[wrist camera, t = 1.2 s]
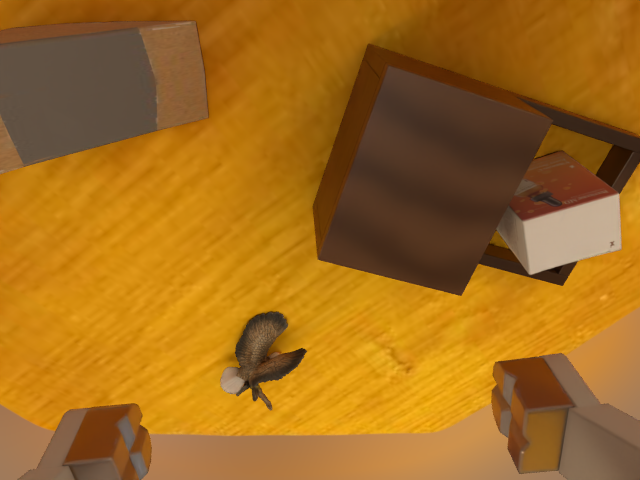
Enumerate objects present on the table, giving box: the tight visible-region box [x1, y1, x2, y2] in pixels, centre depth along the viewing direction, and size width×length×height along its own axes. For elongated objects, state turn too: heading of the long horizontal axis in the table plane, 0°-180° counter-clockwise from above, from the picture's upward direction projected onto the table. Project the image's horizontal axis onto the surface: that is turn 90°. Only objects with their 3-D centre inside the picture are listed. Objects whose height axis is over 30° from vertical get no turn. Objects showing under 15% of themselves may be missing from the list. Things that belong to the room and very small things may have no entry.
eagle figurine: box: [221, 312, 307, 410], centre depth 58 cm, size 8×7×9 cm
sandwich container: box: [0, 21, 208, 174], centre depth 39 cm, size 9×15×15 cm, turn 92°
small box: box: [496, 151, 622, 275], centre depth 48 cm, size 8×6×10 cm
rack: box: [313, 44, 640, 296], centre depth 47 cm, size 16×27×10 cm, turn 72°
